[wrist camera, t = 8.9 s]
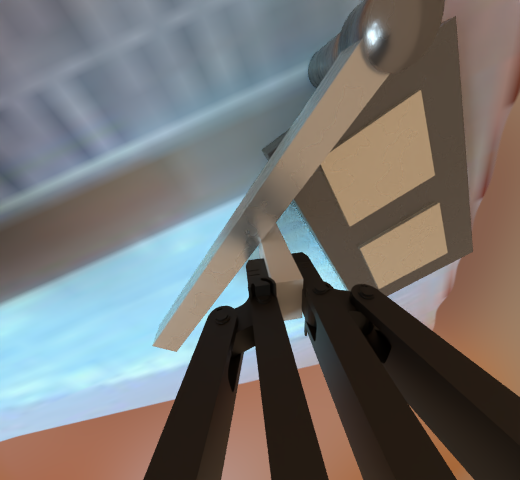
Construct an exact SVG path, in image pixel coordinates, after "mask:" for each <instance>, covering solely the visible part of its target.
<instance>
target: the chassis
mask: <svg viewBox="0 0 520 480" xmlns="http://www.w3.org/2000/svg"><path fill="white" fill-rule="evenodd" d="M340 33H341V32H340ZM340 33H339V34H338V35H337V36H335V37H334V38H333V39H332V40H331V41H330V42H328V43H327V44H326V45H325V46H324V47H322V48H321V49H320V50H319V51H318V52H316V53H315V54H314V56H313V57H312V59H311V61H310V63H309V68H308V76H309V80H310V82H311V84H312V85H313V86H314V87H315V88H317V87H318V86H319V84H320V83H321V81H322V80H323V78H324V77H325V75H326V74H327V72H328V71H329V69H330V68H331V66H332V65H333V63H334V62H335V60H336V59H337V57H338V42H339V37H340ZM288 131H289V130H288ZM288 131H287V132H288ZM287 132H285V133H284V134H282V135H281V136H280V137H278V138H277V139H276V140H274V141H273V142H272V143H270V144H269V145H268V146H266V147H265V148H264V149H262V151H263V153H264V155H265V156H266V158H267V160H268V161H269V159H270V158H271V156H272V155H273V153H274V152H275V150H276V149H277V147H278V146H279V144H280V143H281V141H282V140H283V138H284V137H285V135H286V134H287ZM293 203H294V204H295V206H296V208H297V209H298V211H299V213H300V214H301V216H302V218H303V219H304V221H305V223H306V224H307V226H308V228H309V229H310V231H311V233H312V234H313V236H314V237H315V239H316V241H317V242H318V244H319V246H320V247H321V249H322V251H323V252H324V254H325V256H326V257H327V259H328V261H329V262H330V264H331V266H332V267H333V269H334V271H335V272H336V274H337V276H338V277H339V279H340V280H341V282H342V284H343V285H344V287H345V289H346V290H347V291H351V289H352V287H353V286H355V285H357V284H367V285H370V286H373V287H374V288H376V289H378V290H379V291H380V292H382V293H383V294H384V295H386V296H388V295H390V294H392V293H394V292H396V291H398V290H400V289H402V288H404V287H406V286H408V285H409V284H411V283H413V282H415V281H417V280H419V279H421V278H423V277H425V276H427V275H429V274H431V273H433V272H435V271H436V270H438V269H440V268H442V267H444V266H446V265H448V264H450V263H452V262H454V261H456V260H458V259H460V258H462V257H463V256H465V255H467V254H469V253H471V252H473V246H472V231H471V218H470V204H469V190H468V177H467V163H466V149H465V136H464V122H463V108H462V95H461V81H460V67H459V53H458V40H457V26H456V16H455V17H453V18H451V19H449V20H447V21H445V22H442V23H441V24H440V27H439V29H438V32H437V34H436V36H435V38H434V40H433V42H432V44H431V45H430V47H429V49H428V50H427V51H426V53H425V54H424V55H423V56H422V57H421V58H420V59H419V60H418V61H417V62H416V63H415V64H413V65H412V66H410V67H409V68H407V69H405V70H402V71H399V72H396V73H393V74H390V75H389V76H388V77H387V78H386V80H385V81H384V82H383V83H382V85H381V86H380V87H379V89H378V90H377V91H376V93H375V94H374V95H373V96H372V98H371V99H370V100H369V102H368V103H367V104H366V106H365V107H364V108H363V110H362V111H361V112H360V113H359V115H358V116H357V117H356V119H355V120H354V121H353V123H352V124H351V125H350V126H349V128H348V129H347V130H346V132H345V133H344V134H343V136H342V137H341V138H340V139H339V141H338V142H337V143H336V145H335V146H334V147H333V149H332V150H331V151H330V152H329V154H328V155H327V156H326V158H325V159H324V160H323V162H322V163H321V164H320V165H319V167H318V168H317V169H316V171H315V172H314V173H313V175H312V176H311V177H310V179H309V180H308V181H307V182H306V184H305V185H304V186H303V188H302V189H301V190H300V192H299V193H298V194H297V195H296V197H295V198H294V199H293Z"/></svg>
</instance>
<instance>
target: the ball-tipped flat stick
mask: <svg viewBox="0 0 520 480" xmlns="http://www.w3.org/2000/svg"><path fill="white" fill-rule="evenodd" d="M444 1H445V0H363V1H362V2H361V3H360V4H359V5H358V6H357V7H356V8H355V9H354V10H353V11H352V12H351V13H350V15H349V16H348V18H347V19H346V21H345V23H344V25H343V27H342V30H341V33H340V37H339V42H338V57H337V59H336V60H335V62H334V63H333V65H332V66H331V68H330V69H329V71H328V72H327V74H326V75H325V77H324V78H323V80H322V81H321V83H320V84H319V86H318V87H317V89H316V90H315V92H314V93H313V95H312V96H311V98H310V99H309V101H308V102H307V104H306V105H305V107H304V108H303V110H302V111H301V113H300V114H299V116H298V117H297V119H296V120H295V122H294V123H293V125H292V126H291V128H290V129H289V131H288V132H287V134H286V135H285V137H284V138H283V140H282V141H281V143H280V144H279V146H278V147H277V149H276V150H275V152H274V153H273V155H272V156H271V158H270V159H269V161H268V162H267V164H266V165H265V167H264V168H263V170H262V171H261V173H260V174H259V176H258V177H257V179H256V180H255V182H254V183H253V185H252V186H251V188H250V189H249V191H248V193H247V194H246V196H245V197H244V199H243V200H242V202H241V203H240V205H239V206H238V208H237V209H236V211H235V212H234V214H233V215H232V217H231V218H230V220H229V221H228V223H227V224H226V226H225V227H224V229H223V230H222V232H221V233H220V235H219V236H218V238H217V239H216V241H215V242H214V244H213V245H212V247H211V248H210V250H209V251H208V253H207V254H206V256H205V257H204V259H203V260H202V262H201V263H200V265H199V266H198V268H197V269H196V271H195V272H194V274H193V275H192V277H191V278H190V280H189V281H188V283H187V284H186V286H185V287H184V289H183V290H182V292H181V293H180V295H179V296H178V298H177V299H176V301H175V302H174V304H173V305H172V307H171V308H170V310H169V311H168V313H167V314H166V316H165V317H164V319H163V320H162V322H161V323H160V325H159V328H158V331H157V334H156V337H155V340H154V342H153V345H152V346H155V347H159V348H163V349H167V350H171V351H175V352H177V350H178V349H179V348H180V347H181V345H182V344H183V343H184V341H185V340H186V339H187V337H188V336H189V335H190V333H191V332H192V331H193V330H194V328H195V327H196V326H197V324H198V323H199V322H200V320H201V319H202V318H203V317H204V315H205V314H206V313H207V311H208V310H209V309H210V307H211V306H212V305H213V304H214V302H215V301H216V300H217V298H218V297H219V296H220V294H221V293H222V292H223V291H224V289H225V288H226V287H227V285H228V284H229V283H230V281H231V280H232V279H233V277H234V276H235V275H236V274H237V272H238V271H239V270H240V268H241V267H242V266H243V264H244V263H245V262H246V261H247V259H248V258H249V257H250V255H251V254H252V253H253V251H254V250H255V249H256V248H257V246H258V245H259V244H260V242H261V241H262V240H263V238H264V237H265V236H266V235H267V233H268V232H269V231H270V229H271V228H272V227H273V225H274V224H275V223H276V221H277V220H278V219H279V218H280V216H281V215H282V214H283V212H284V211H285V210H286V208H287V207H288V206H289V205H290V203H291V202H292V201H293V199H294V198H295V197H296V195H297V194H298V193H299V192H300V190H301V189H302V188H303V186H304V185H305V184H306V182H307V181H308V180H309V179H310V177H311V176H312V175H313V173H314V172H315V171H316V169H317V168H318V167H319V165H320V164H321V163H322V162H323V160H324V159H325V158H326V156H327V155H328V154H329V152H330V151H331V150H332V149H333V147H334V146H335V145H336V143H337V142H338V141H339V139H340V138H341V137H342V136H343V134H344V133H345V132H346V130H347V129H348V128H349V126H350V125H351V124H352V123H353V121H354V120H355V119H356V117H357V116H358V115H359V113H360V112H361V111H362V110H363V108H364V107H365V106H366V104H367V103H368V102H369V100H370V99H371V98H372V96H373V95H374V94H375V93H376V91H377V90H378V89H379V87H380V86H381V85H382V83H383V82H384V81H385V80H386V78H387V77H388V76H389V75H390V74H393V73H396V72H399V71H402V70H405V69H407V68H409V67H410V66H412V65H413V64H415V63H416V62H417V61H418V60H419V59H420V58H421V57H422V56H423V55H424V54H425V53H426V51H427V50H428V49H429V47H430V45H431V44H432V42H433V40H434V38H435V36H436V34H437V32H438V29H439V27H440V24H441V20H442V16H443V11H444Z"/></svg>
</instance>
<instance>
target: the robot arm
mask: <svg viewBox="0 0 520 480" xmlns="http://www.w3.org/2000/svg"><path fill="white" fill-rule="evenodd" d="M259 255H260V259H255V260H248V262H247V264H246V271H247V279H248V291H249V298H248V300H247V301H246V302H245V303H244V304H243V305H241V306H240V307H237V308H235V309H234V308H232V307H230V306H220V307H218V308H216V309H214V310H213V311H212V312H211V313H210V314H209V316H208V318H207V321H206V323H205V326H204V328H203V331H202V333H201V336H200V338H199V341H198V343H197V346H196V348H195V351H194V353H193V356H192V358H191V361H190V363H189V366H188V369H187V371H186V374H185V376H184V379H183V381H182V384H181V386H180V389H179V391H178V394H177V396H176V399H175V402H174V404H173V406H172V409H171V411H170V414H169V416H168V419H167V422H166V424H165V427H164V430H163V432H162V434H161V437H160V439H159V442H158V444H157V447H156V449H155V452H154V454H153V457H152V459H151V462H150V465H149V467H148V470H147V472H146V474H145V477H144V479H143V480H221V476H222V471H223V466H224V460H225V454H226V449H227V442H228V438H229V432H230V426H231V421H232V415H233V410H234V404H235V398H236V393H237V387H238V382H239V376H240V371H241V365H242V360H243V354H244V352H245V351H247V350H248V349H250V348H252V347H254V346H255V347H256V356H257V364H258V372H259V381H260V388H261V397H262V405H263V414H264V422H265V430H266V439H267V447H268V454H269V464H270V472H271V480H329V479H328V476H327V472H326V469H325V465H324V461H323V458H322V454H321V451H320V447H319V444H318V440H317V437H316V433H315V430H314V426H313V423H312V419H311V415H310V412H309V409H308V405H307V401H306V398H305V394H304V391H303V388H302V384H301V380H300V377H299V373H298V370H297V366H296V363H295V359H294V355H293V352H292V348H291V345H290V341H289V338H288V334H287V331H286V327H285V324H284V321H285V320H291V319H298V318H302V312H303V314H304V317H305V329H304V333H305V336H307V332H308V335H309V337H310V340H311V343H312V345H313V348H314V351H315V353H316V356H317V359H318V361H319V364H320V366H321V369H322V372H323V374H324V377H325V380H326V382H327V385H328V388H329V390H330V393H331V396H332V398H333V401H334V403H335V406H336V409H337V411H338V414H339V417H340V419H341V422H342V425H343V427H344V430H345V432H346V435H347V437H348V440H349V443H350V446H351V448H352V451H353V454H354V456H355V459H356V461H357V464H358V467H359V469H360V472H361V475H362V477H363V480H457V479H456V478H455V476H454V475H453V473H452V471H451V470H450V468H449V467H448V465H447V464H446V462H445V461H444V459H443V457H442V456H441V454H440V453H439V451H438V450H437V448H436V447H435V445H434V444H433V442H432V441H431V439H430V437H429V436H428V434H427V433H426V431H425V430H424V428H423V427H422V425H421V423H420V422H419V420H418V419H417V417H416V416H415V414H414V412H413V411H412V410H411V408H410V406H411V407H412V409H413V410H414V411H415V412H416V413H417V414H418V416H419V417H420V418H421V419H422V420H423V421H424V422H425V424H426V425H427V426H428V427H429V428H430V429H431V430H432V432H433V433H434V434H435V435H436V436H437V437H438V438H439V440H440V441H441V442H442V443H443V444H444V445H445V447H446V448H447V449H448V450H449V451H450V452H451V453H452V454H453V456H454V457H455V458H456V459H457V460H458V461H459V462H460V463H461V465H462V466H463V467H464V468H465V469H466V471H467V472H468V473H469V474H470V475H471V476H472V477H473V479H474V480H520V397H519V396H517V395H516V394H515V393H513V392H512V391H511V390H510V389H508V388H507V387H506V386H504V385H502V383H500V382H499V381H498V380H496V379H495V378H494V377H492V376H491V375H490V374H488V373H487V372H486V371H484V370H483V369H482V368H481V367H479V366H478V365H477V364H475V363H474V362H472V361H471V360H470V359H469V358H467V357H466V356H465V355H463V354H462V353H461V352H459V351H458V350H457V349H455V348H454V347H453V346H452V345H450V344H449V343H447V342H446V341H445V340H444V339H442V338H441V337H440V336H438V335H437V334H436V333H434V332H433V331H432V330H430V329H429V328H428V327H426V326H425V325H424V324H423V323H421V322H420V321H419V320H417V319H416V318H415V317H413V316H412V315H411V314H409V313H408V312H407V311H405V310H404V309H403V308H401V307H400V306H399V305H397V304H396V303H395V302H394V301H392V300H391V299H390V298H388V297H387V296H386V295H384V294H383V293H382V292H380V291H379V290H378V289H376V288H374V287H373V286H370V285H367V284H357V285H355V286H353V287H352V289H351V291H344V290H337V289H334V288H333V287H332V286H331V285H330V284H328V283H327V282H324V281H323V280H322V278H321V277H320V275H319V274H318V272H317V270H316V269H315V267H314V265H313V264H312V262H311V260H310V259H309V257H308V256H307V255H305V254H304V253H302V252H301V253H293V254H291V253H290V251H289V249H288V247H287V245H286V243H285V240H284V238H283V236H282V234H281V232H280V230H279V228H278V226H277V224H276V223H275V224H274V225H273V227H272V228H271V229H270V231H269V232H268V233H267V235H266V236H265V237H264V238H263V240H262V241H261V242H260V244H259ZM408 404H409V405H410V406H409V405H408Z"/></svg>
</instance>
